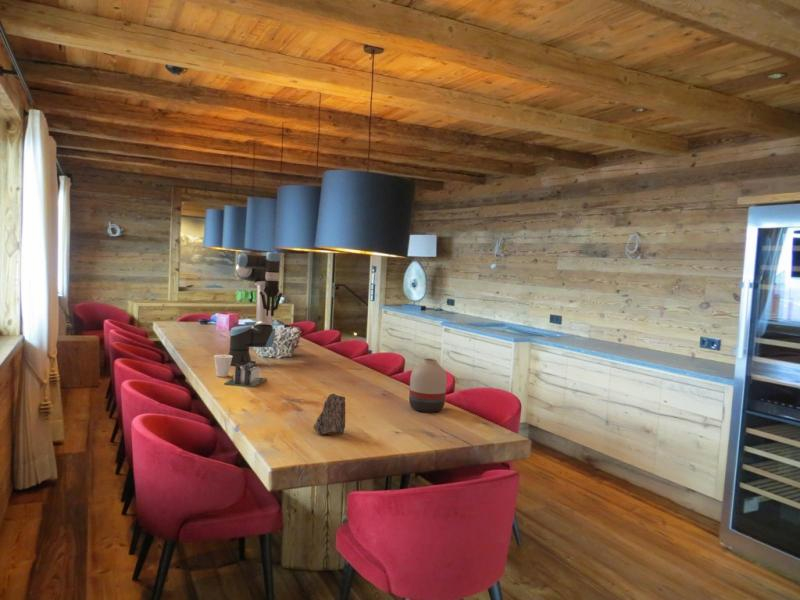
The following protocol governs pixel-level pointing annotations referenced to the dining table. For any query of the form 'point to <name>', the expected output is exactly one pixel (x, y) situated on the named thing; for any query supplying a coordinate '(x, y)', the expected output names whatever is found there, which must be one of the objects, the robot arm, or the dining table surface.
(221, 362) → the cup
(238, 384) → the green circuit board
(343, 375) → the dining table surface
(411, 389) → the vase
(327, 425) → the stone
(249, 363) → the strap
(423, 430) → the dining table surface
